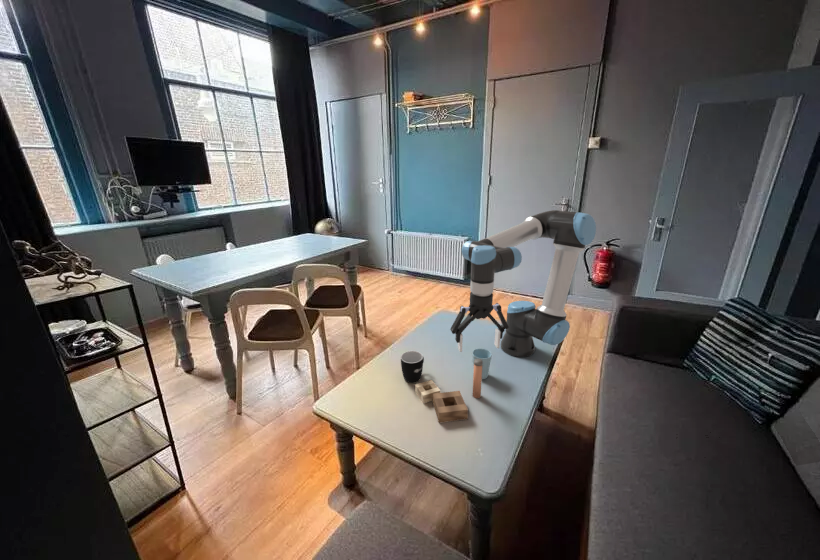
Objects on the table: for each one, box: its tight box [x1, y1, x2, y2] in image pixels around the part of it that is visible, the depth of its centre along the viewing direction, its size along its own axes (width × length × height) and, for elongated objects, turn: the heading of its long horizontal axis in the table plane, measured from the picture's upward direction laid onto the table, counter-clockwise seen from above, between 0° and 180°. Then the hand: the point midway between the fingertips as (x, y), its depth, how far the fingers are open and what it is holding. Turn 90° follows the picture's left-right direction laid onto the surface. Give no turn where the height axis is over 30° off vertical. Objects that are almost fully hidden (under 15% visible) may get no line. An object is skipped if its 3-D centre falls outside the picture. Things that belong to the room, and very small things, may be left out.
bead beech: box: [414, 379, 441, 404], centre depth 122 cm, size 7×7×4 cm
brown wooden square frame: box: [432, 390, 469, 423], centre depth 114 cm, size 10×10×4 cm
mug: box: [400, 350, 425, 384], centre depth 133 cm, size 12×9×10 cm
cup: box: [471, 347, 493, 380], centre depth 132 cm, size 8×8×10 cm
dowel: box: [471, 359, 483, 399], centre depth 120 cm, size 3×3×15 cm
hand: (478, 348), depth 115 cm, fingers open, 13 cm apart
